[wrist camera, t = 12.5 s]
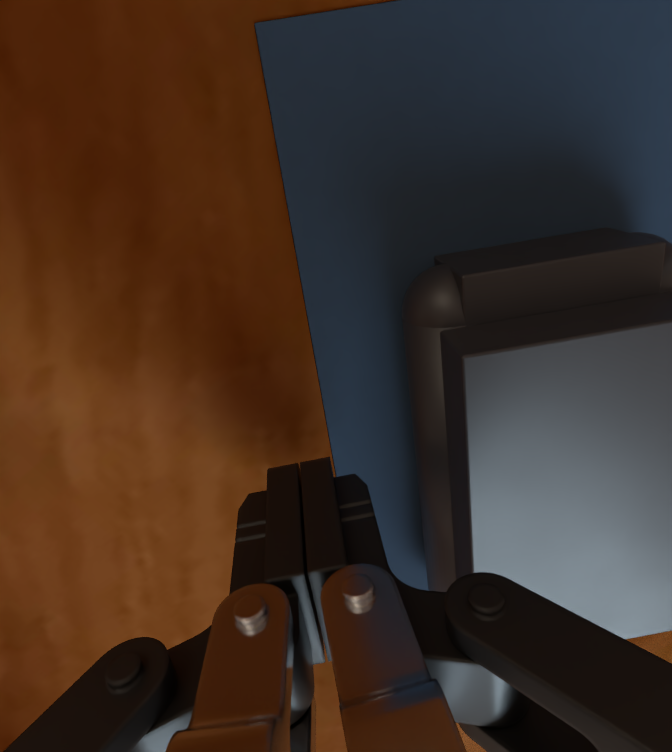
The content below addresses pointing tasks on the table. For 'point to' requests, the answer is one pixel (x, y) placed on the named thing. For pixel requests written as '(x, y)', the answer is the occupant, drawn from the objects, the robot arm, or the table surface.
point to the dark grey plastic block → (549, 421)
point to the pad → (449, 178)
